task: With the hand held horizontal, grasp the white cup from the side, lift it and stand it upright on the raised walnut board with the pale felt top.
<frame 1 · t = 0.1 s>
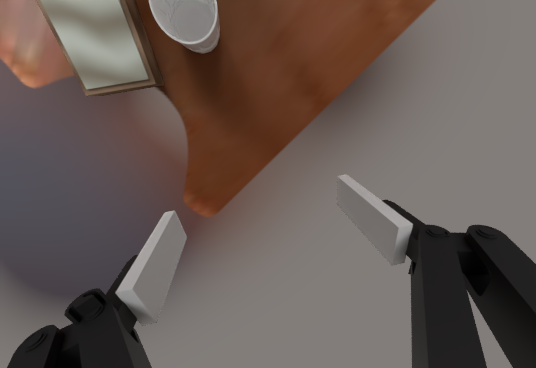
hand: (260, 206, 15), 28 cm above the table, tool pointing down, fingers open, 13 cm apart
board: (107, 27, 30), on the table
white cup: (199, 30, 32), on the table
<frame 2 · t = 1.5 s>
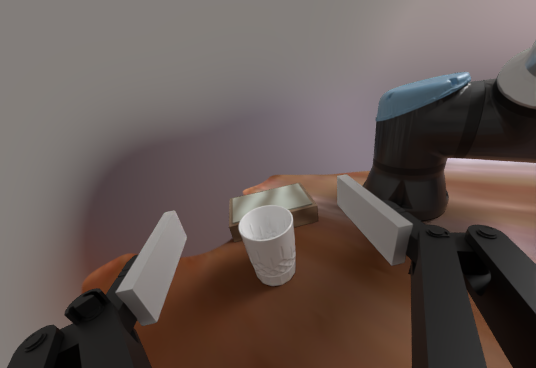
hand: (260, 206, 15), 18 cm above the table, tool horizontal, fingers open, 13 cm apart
board: (272, 216, 45), on the table
white cup: (276, 268, 32), on the table
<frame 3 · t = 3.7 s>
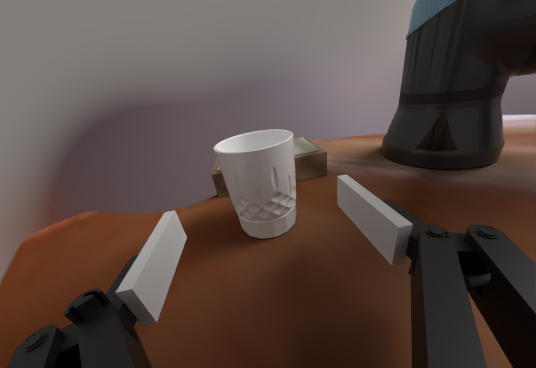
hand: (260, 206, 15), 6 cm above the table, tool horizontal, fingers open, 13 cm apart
board: (269, 173, 36), on the table
white cup: (269, 221, 23), on the table
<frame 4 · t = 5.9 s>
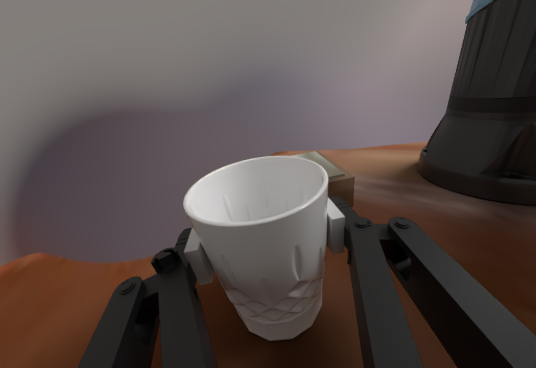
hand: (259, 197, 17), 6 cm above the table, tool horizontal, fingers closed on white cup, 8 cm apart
board: (273, 199, 28), on the table
white cup: (278, 293, 15), on the table, touching gripper
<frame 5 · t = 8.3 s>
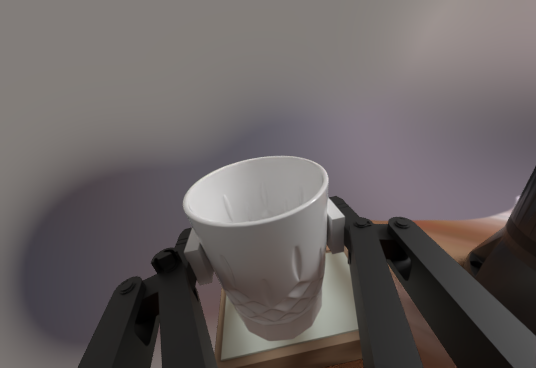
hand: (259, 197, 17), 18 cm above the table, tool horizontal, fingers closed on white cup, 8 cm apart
board: (296, 314, 25), on the table
white cup: (278, 294, 15), point 12 cm above the table, touching gripper
when the fingers open (11 cm above the table, at t = 10.6 s): white cup drops 1 cm, resting on board.
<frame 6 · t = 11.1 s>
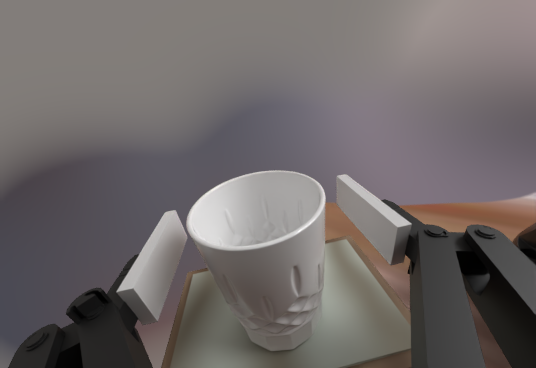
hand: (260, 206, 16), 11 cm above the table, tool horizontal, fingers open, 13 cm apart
board: (286, 329, 18), on the table
white cup: (280, 303, 16), point 4 cm above the table, touching board
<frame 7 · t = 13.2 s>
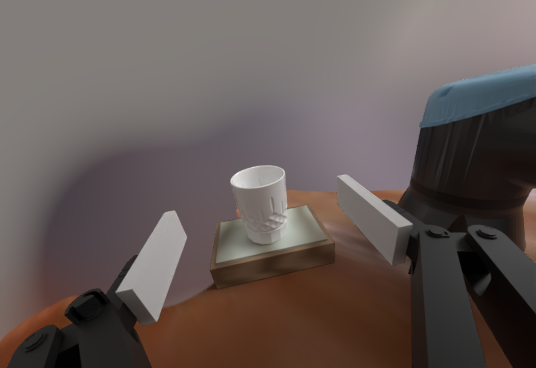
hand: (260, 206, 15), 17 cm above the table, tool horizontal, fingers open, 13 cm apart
board: (271, 249, 34), on the table
white cup: (267, 231, 32), point 4 cm above the table, touching board
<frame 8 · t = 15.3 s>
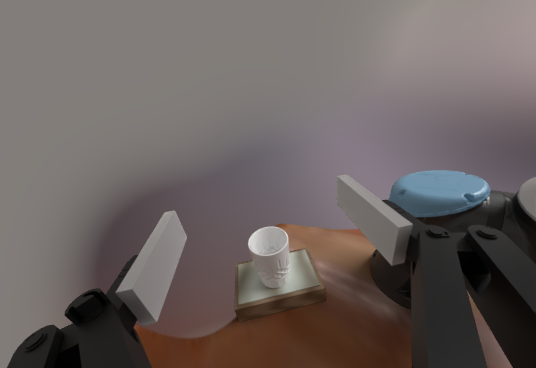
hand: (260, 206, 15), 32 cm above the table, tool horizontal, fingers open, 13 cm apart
board: (278, 286, 44), on the table
white cup: (275, 274, 42), point 4 cm above the table, touching board
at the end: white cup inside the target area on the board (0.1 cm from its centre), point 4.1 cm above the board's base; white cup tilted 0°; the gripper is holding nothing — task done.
